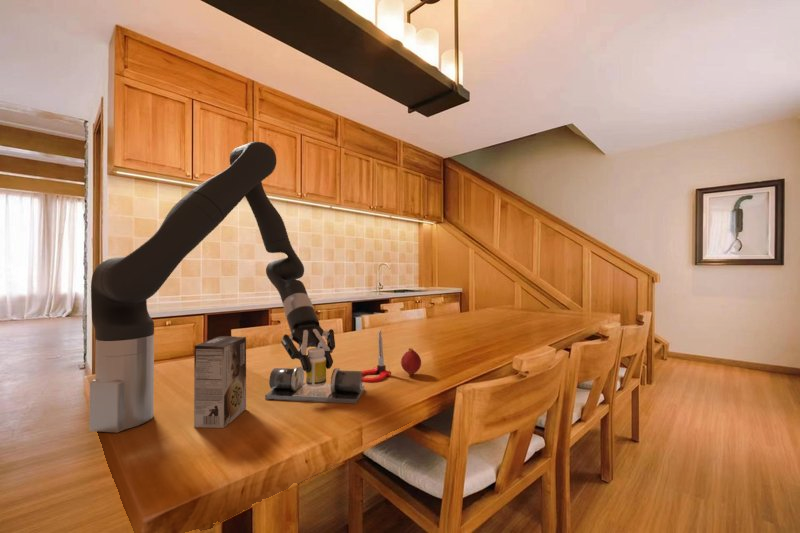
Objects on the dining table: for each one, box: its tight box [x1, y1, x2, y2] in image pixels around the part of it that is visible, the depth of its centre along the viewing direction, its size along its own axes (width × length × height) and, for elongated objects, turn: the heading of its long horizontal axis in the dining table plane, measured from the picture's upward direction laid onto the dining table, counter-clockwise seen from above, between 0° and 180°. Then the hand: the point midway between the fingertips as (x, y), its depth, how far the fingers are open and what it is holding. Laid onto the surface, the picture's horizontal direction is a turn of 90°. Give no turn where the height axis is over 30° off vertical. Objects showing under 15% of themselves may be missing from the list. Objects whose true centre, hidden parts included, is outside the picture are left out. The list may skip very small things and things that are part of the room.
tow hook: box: [362, 330, 392, 383], centre depth 97 cm, size 8×13×9 cm
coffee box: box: [193, 335, 247, 429], centre depth 71 cm, size 9×6×16 cm
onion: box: [400, 347, 422, 376], centre depth 99 cm, size 6×6×8 cm
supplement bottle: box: [305, 347, 327, 387], centre depth 84 cm, size 5×5×8 cm
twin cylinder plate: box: [264, 366, 365, 405], centre depth 84 cm, size 22×9×6 cm, turn 84°
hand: (319, 368), depth 83 cm, fingers closed on supplement bottle, 4 cm apart
